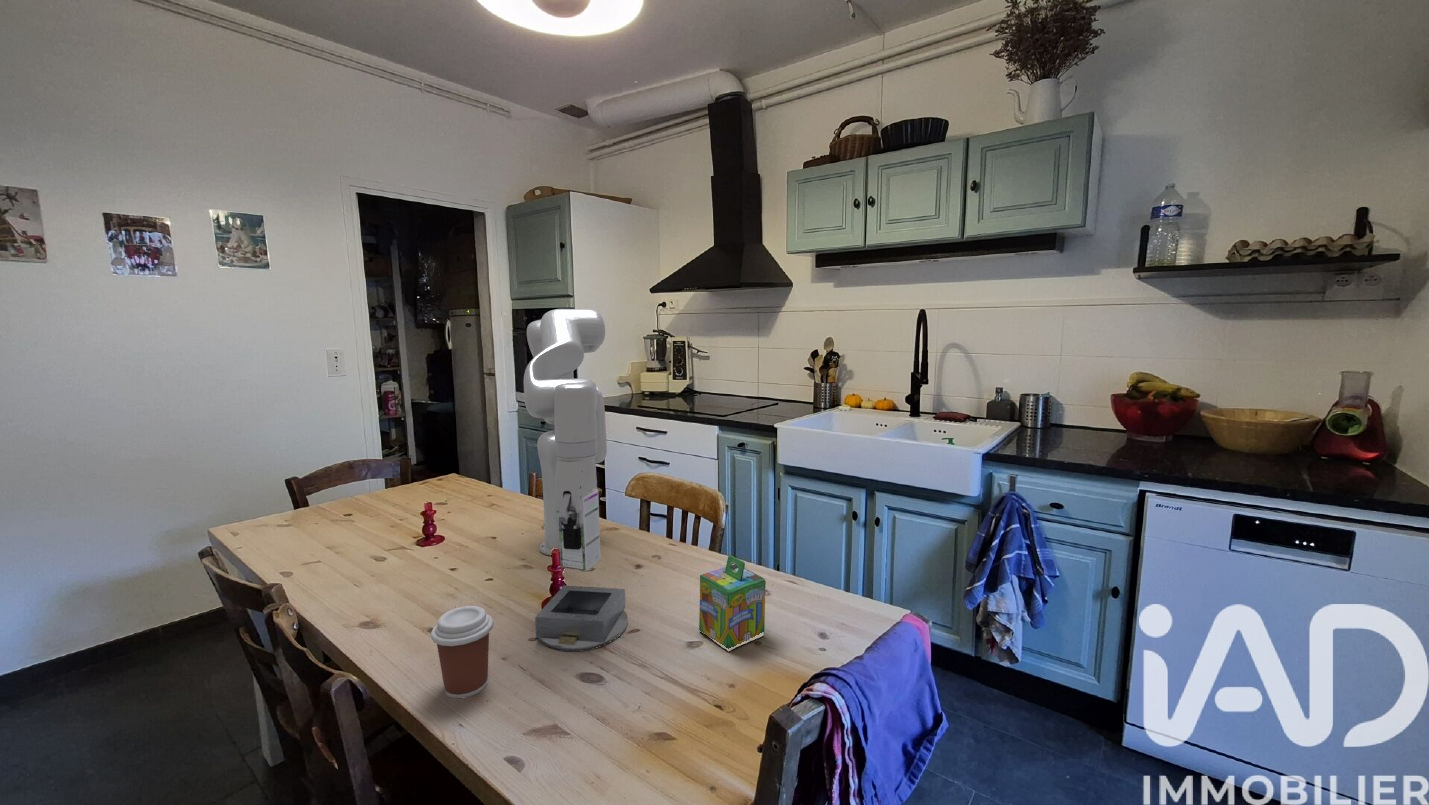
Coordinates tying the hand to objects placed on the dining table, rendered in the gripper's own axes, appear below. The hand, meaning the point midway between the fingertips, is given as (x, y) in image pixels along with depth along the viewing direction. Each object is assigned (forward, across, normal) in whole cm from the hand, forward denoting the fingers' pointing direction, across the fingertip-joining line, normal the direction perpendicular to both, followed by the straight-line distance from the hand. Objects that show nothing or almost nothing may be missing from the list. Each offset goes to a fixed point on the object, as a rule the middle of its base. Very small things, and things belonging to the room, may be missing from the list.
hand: (579, 540), depth 107 cm
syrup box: (+5, 0, 0) cm, 5 cm away
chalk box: (+18, -1, +29) cm, 34 cm away
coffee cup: (+18, +20, -12) cm, 29 cm away
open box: (+17, 0, 0) cm, 17 cm away
